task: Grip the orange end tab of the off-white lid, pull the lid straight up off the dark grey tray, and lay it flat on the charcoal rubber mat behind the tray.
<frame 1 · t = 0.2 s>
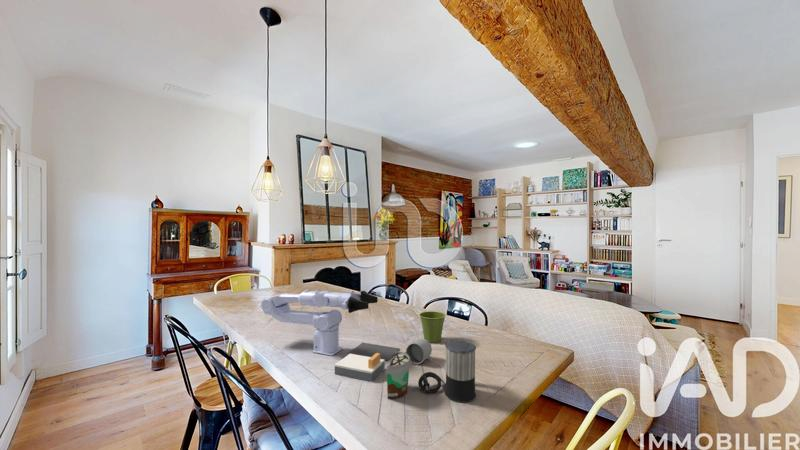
hand: (372, 302, 120), 21 cm above the table, tool horizontal, fingers open, 7 cm apart
lid: (360, 363, 110), point 3 cm above the table, touching dark grey tray
dark grey tray: (360, 371, 110), on the table
mat: (374, 351, 127), on the table
ceramic mug: (415, 360, 119), on the table
milk frother: (446, 392, 96), on the table
food container: (401, 392, 97), on the table
plant pot: (432, 340, 139), on the table
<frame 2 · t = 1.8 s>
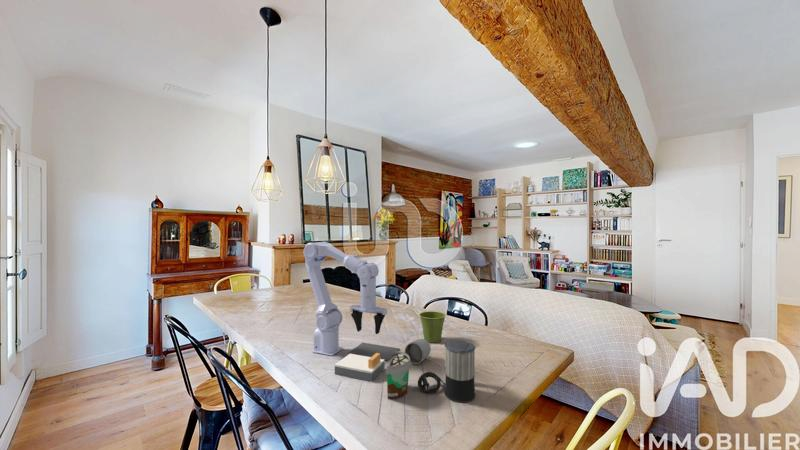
hand: (368, 331, 119), 10 cm above the table, tool pointing down, fingers open, 7 cm apart
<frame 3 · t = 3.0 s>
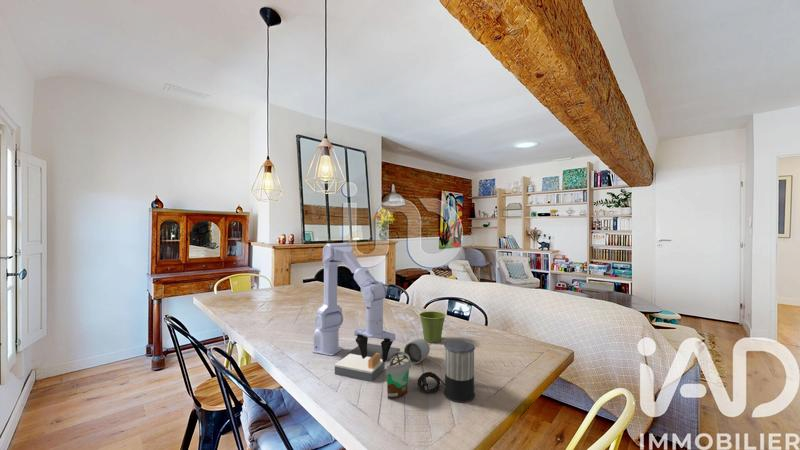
hand: (374, 359, 108), 5 cm above the table, tool pointing down, fingers open, 7 cm apart
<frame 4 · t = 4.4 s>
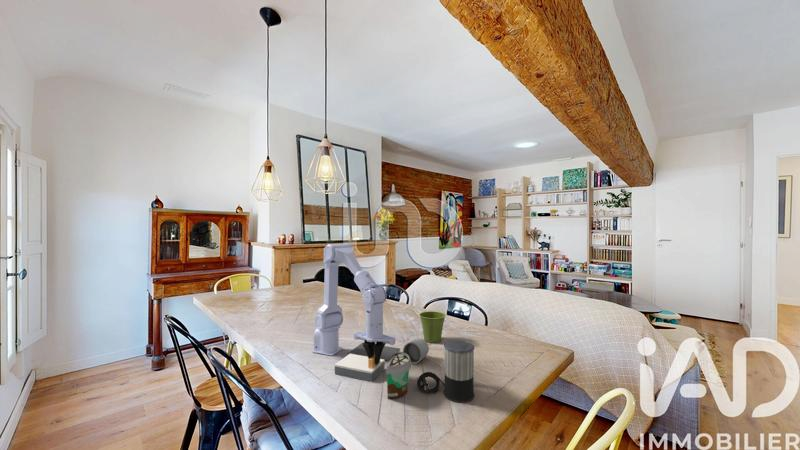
hand: (374, 362, 108), 4 cm above the table, tool pointing down, fingers closed on lid
lid: (360, 363, 110), point 3 cm above the table, touching gripper, dark grey tray
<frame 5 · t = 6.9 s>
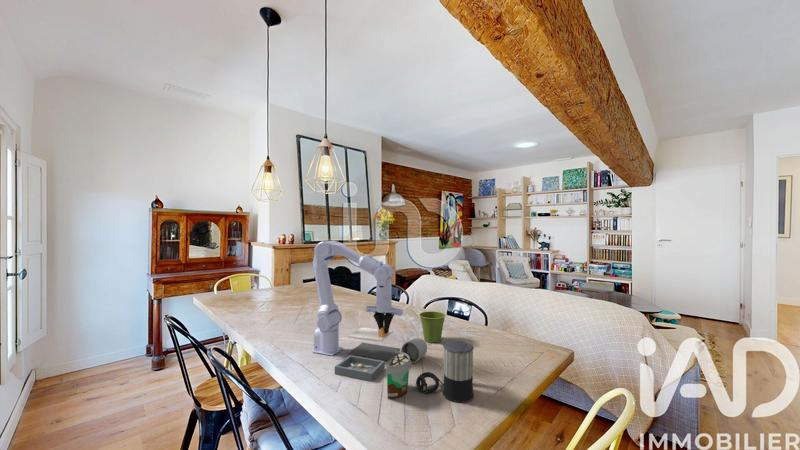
hand: (383, 332, 120), 10 cm above the table, tool pointing down, fingers closed on lid
lid: (370, 334, 122), point 8 cm above the table, touching gripper
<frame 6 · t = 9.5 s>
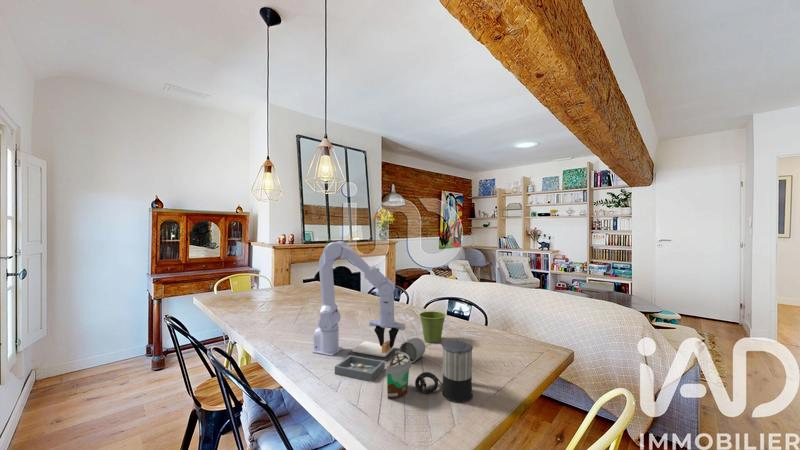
hand: (386, 346, 125), 3 cm above the table, tool pointing down, fingers open, 4 cm apart
lid: (374, 349, 126), point 1 cm above the table, touching mat
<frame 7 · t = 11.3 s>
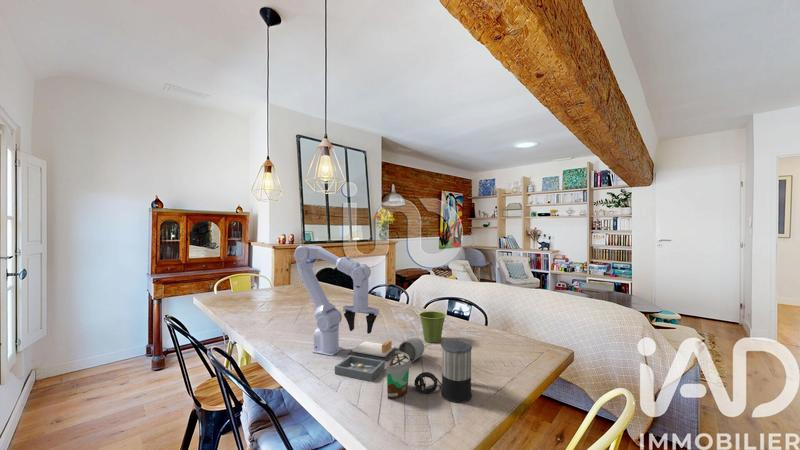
hand: (360, 331, 123), 9 cm above the table, tool pointing down, fingers open, 7 cm apart
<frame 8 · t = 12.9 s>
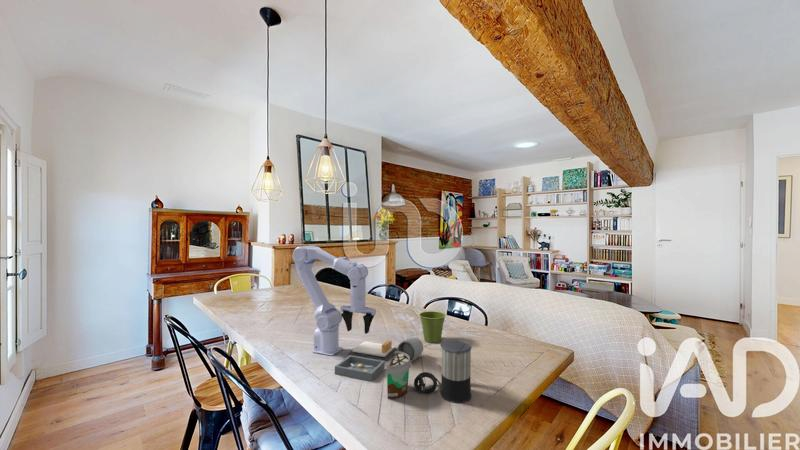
hand: (358, 331, 122), 9 cm above the table, tool pointing down, fingers open, 7 cm apart
at the end: lid inside the target area on the mat (0.2 cm from its centre), point 1.0 cm above the mat's base; lid tilted 0°; lid touching mat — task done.
